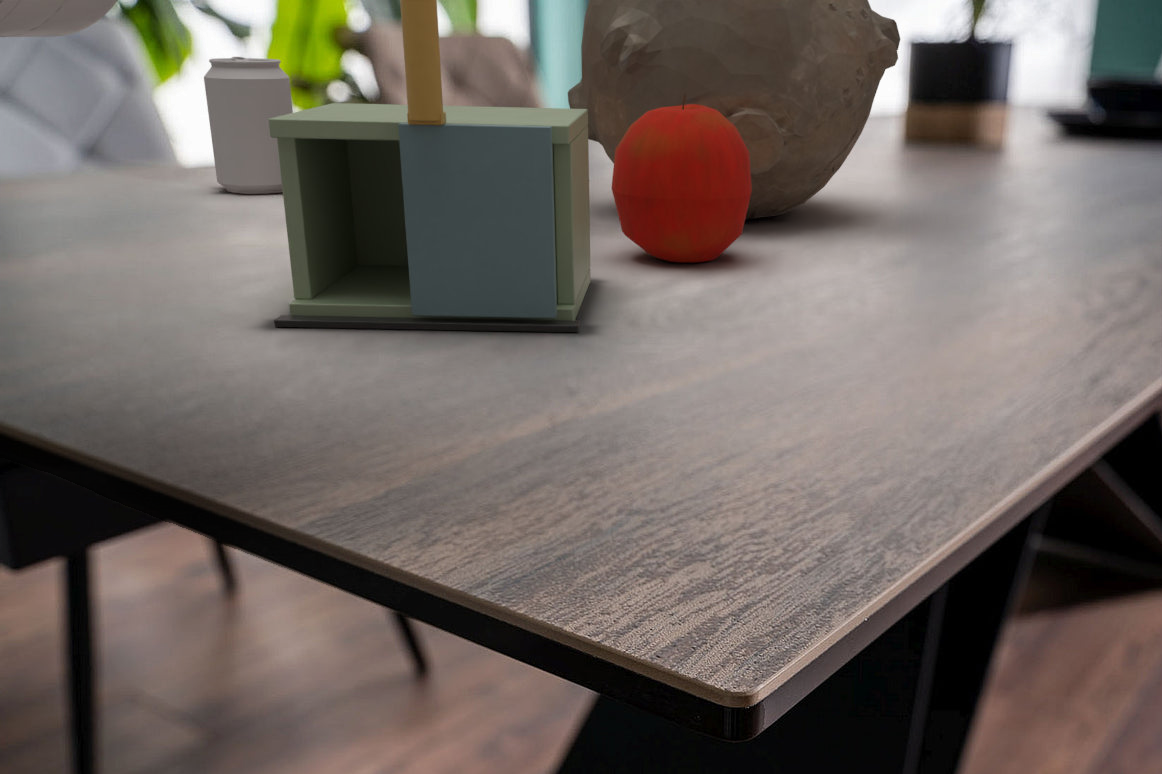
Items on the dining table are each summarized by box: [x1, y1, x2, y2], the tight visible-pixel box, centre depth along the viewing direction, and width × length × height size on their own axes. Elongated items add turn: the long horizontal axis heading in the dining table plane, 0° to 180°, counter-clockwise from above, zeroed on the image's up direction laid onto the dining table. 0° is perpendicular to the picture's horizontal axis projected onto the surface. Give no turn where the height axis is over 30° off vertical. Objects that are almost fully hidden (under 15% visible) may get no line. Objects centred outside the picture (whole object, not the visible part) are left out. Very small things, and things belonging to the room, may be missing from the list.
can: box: [203, 56, 294, 195], centre depth 112 cm, size 8×8×12 cm
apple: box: [611, 94, 752, 263], centre depth 85 cm, size 10×10×12 cm
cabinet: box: [269, 102, 592, 333], centre depth 70 cm, size 17×14×11 cm
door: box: [398, 0, 557, 318], centre depth 62 cm, size 8×2×20 cm, turn 91°
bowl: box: [567, 0, 901, 220], centre depth 104 cm, size 27×29×20 cm
